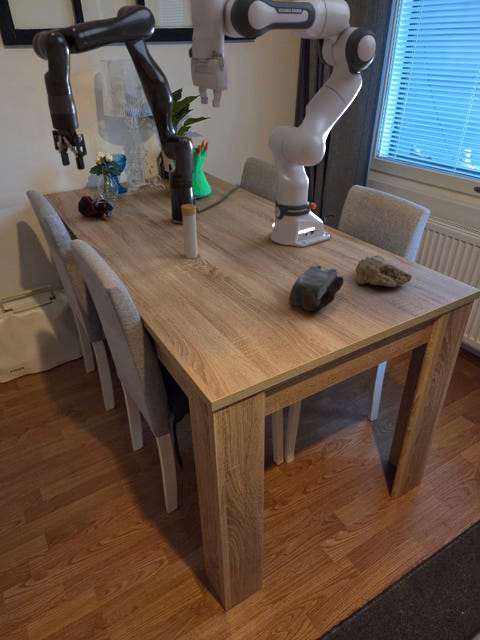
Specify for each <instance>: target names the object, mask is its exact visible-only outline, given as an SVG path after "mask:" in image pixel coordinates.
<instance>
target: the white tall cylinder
mask: <svg viewBox="0 0 480 640" xmlns="http://www.w3.org/2000/svg"><path fill="white" fill-rule="evenodd" d="M182 216H183V224H182V230H183V246H184V257H185V258H187V259H195V258H197V257H198V253H199V252H198V234H197V233H198V232H197V213H196V214H194V215H183V214H182Z"/></svg>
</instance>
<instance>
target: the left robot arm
mask: <svg viewBox="0 0 480 640" xmlns="http://www.w3.org/2000/svg"><path fill="white" fill-rule="evenodd" d="M156 26H157V25H156V19H155V15H154V13H153V12H152V11H151V9H150V8H148V7H147V6H145V5H141V4H134V5H132V4H131V5H124V6H121V7H120V8H119V9H118V10H117V13H116V16H114V17H109V18H104V19H94V20H88V21H84V22H79V23H75V24H72V25H68V26H66V27H61V28H55V29H49V30H43V31H40V32H37V33H36V34H35V35H34V36H33V38H32V49H33V51H34V53H35V54H36V57H38V58H40V59H42V60H44V61H46V62H47V71H46V72H45V73H44V74H43V75H44V76H43V80H44V86H45V90H46V95H47V96H46V97H47V106H48V110H49V115H50V119H51V124H52V128H53V129H54V130H52V131H51V133H52V138H53V139H52V140H53V145H54V149H55V151H58V153H59V154H60V159H61V163H62V166H63V167H67V166H70V164H71V162H70V156H69V152H68V150H69V151H71V152H72V153H73V154H74V158H75V163H76V164H75V165H76V169H77V170H78V171H83V170H85V168H86V166H85V161H84V157H85V156H87V155H88V152H87V147H86V142H85V136H84V134H83V133H79V134H78V133H77V129H79V127H80V124H79V118H78V113H77V107H76V101H75V99H74V94H73V89H72V83H71V55H80V54H84V53H87V52H91V51H95V50H98V49H100V48H103V47H107V46H109V45H113V44H116V43H117V44H118V43H120V42H123V43H124V45H125V48H126V49H127V50H126V51H127V52H128V54H129V56H130V59H131V61H132V64H133V66H134V69H135V72H136V74H137V77H138V79H139V81H140V85H141V89H142V92H143V94H144V97H145V100H146V102H147V105H148V107H149V110H150V112H151V115H152V119H153V122H154V124H155V127H156V132H157V135H158V139H159V143H160V147H161V150H162V153H163V155H164V156H165V158H167V159H169V160H171V161H173V160H175V165H174V169H170V171H169V172H168V182H169V189H170V193H169V195H170V196H169V197H170V206H171V207H170V208H171V209H170V210H171V212H170V214H171V215H170V216H171V222H172V223H174V224H177V225H183V216H182V210H181V206H182V205H185V204H193V205H195V206H196V213H197V214H198V213H202V212H204V211H206V210H209V209H210V208H211V209H212V208H213V207H215V206H217V205H219V204H220V203H221V202H223V201H224V200H226V199H227V198H228V197H229V196H230V195H231V194H232V193H233V192H235V191H237V190H238V189H239V188H241V187H242V185H241V184H240V185H239V186H237V187H235V188H233V189H232V190H231V191H229V193H227V194H226V196H224V197H223V198H222V199H220V200H219V201H217V202H216V203H213V204H211V205H209V206H207V207H205V208H203V209H202V210H201V209H200V210H199V208H198V207H197V205H196V199H195V197H194V196H193V181H192V174H193V170H194V149H195V147H194V148H193V145H194V143H193V144H192V141H193V140H192V141H191V140H190V137H188V136H185V135H178V134H177V132H176V130H175V127H174V125H173V120H172V113H173V107H174V96H173V93H172V90H171V89H172V88H171V87H170V83H169V80H168V78H167V76H166V74H165V73H164V71H163V70H162V68H161V67H160V65H158V63H157V61H155V59H154V58H153V56H152V54H151V52H150V50H149V48H148V46H147V43H146V40H148V39H150V38H151V37H152V36H153V35H154V33H155V31H156Z"/></svg>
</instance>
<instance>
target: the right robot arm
mask: <svg viewBox="0 0 480 640" xmlns="http://www.w3.org/2000/svg"><path fill="white" fill-rule="evenodd" d="M190 9H191V10H190V11H191V13H190V14H191V23H192V28H193V32H192V39H191V40H192V43H191V47H190V48H188V58H189V59H190V73H191V74H190V75H191V81H192V84H193V86H194V87H198V93H199V96H200V104H202V105H208V104H209V98H208V94H207V92H208V90H212V94H213V99H212V101H211V103H212V108H215V109H216V108H217V109H219V108H220V107H221V99H222V95H223V91H228V89H229V69H228V63H227V60H226V59H225V36H226V37H230V38H235V39H237V38H247V39H257V38H260V37H262V36H263V35H265V34H266V33H268V32H270V31H273V30H289V31H290V33H291V34H292V35H293V36H294V37H295V38H300V39H304V40H305V39H307V40H317V54H318V58H319V60H320V61H321V63H323V64H324V65H326V66H329V67H333V69H332V71H331V74H330V77H329V78H328V79H327V80H326V81H325V82H324V83H323V85H322V86H321V87H320V89H319V90H318V91H317V92H316V93H315V95H314V96H313V97H312V98H311V99H310V101H309V102H308V103H307V104H306V106H305V116H304V118H303V120H302V123H301V124H300V125H298V127H296V126H293V125H290V124H289V125H288V124H287V125H279V126H276V127H275V128H274V129H273V130H271V132H270V134H269V137H268V147H269V149H270V151H271V153H272V156H273V160H274V166H275V172H276V200H275V203H274V222H273V223H272V227H273V228H272V232H271V235H270V240H271V241H272V242H274V243H276V244H279V245H284V246H293V247H294V246H295V247H297V248H304V247H307V246H311V245H314V244H317V243H321V242H324V241H327V240H330V234H329V233H328V232H327V231H325V225H324V224H325V223H327V218H328V217H330V216H331V217H332V218H336V215H335V214H334V213H332V212H331V213H327V214H325V215H324V216H322V219H321V218H320V217H319V216H317V215H316V214H315V213H314V212H312V210H315V209H317V203H314V202H310V201H308V199H309V186H310V185H309V184H310V181H309V176H308V175H307V173H306V170H305V167H313V166H316V165H318V164H319V163H321V161H322V160H323V158H324V157H325V153H326V140H327V138H328V135H329V133H330V131H331V130H332V129H333V127H334V125H335V124H336V123H337V122H338V120H340V118H341V116H342V115H343V114H344V113H345V112H346V111H347V109H348V108H349V106H350V105H351V104H352V103H353V101H354V100H355V98H356V97H357V95H358V94H359V92H360V90H361V88H362V86H363V79H362V74H363V73H365V72H366V71H367V70H368V69H369V66H370V65H371V63H372V62H373V61H374V58H375V56H376V53H377V50H378V38H377V35H376V33H374V32H373V30H371V29H369V28H366V27H354V26H351V25H350V17H351V11H350V6H349V4H348V2H347V1H346V0H292V1H278V0H277V1H275V0H190ZM311 209H312V210H311Z"/></svg>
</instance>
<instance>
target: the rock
mask: <svg viewBox="0 0 480 640" xmlns="http://www.w3.org/2000/svg"><path fill="white" fill-rule="evenodd" d="M344 280H345V279H344V277H342V276H338V271H337V270H336V268H335V269H334V268H331V269H328V270H322V266H321V265H318V266H317V265H316V266H314V265H311V266H310V267H308V268H307V269H306V270H305V271H303V272H302V274H301V275H299V277H298V278H297V279H296V281H295V282H294V283H293V285H292V288H291V290H290V294H289V297H288V302H289V303H290V304H291V305H293V306H295V307H296V306H299V305H300V306H301V308H303V309H304V310H305V311H307V312H312V311H314V312H315V313H318V312H320V311H321V310H322V309H324V308H325V307H327V306H328V305H329V304H331V303H332V302H333V301H334V299H335V298H336V294H337V293H338V292H339V291H340V290H341V288H342V286H343V285H344Z"/></svg>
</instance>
